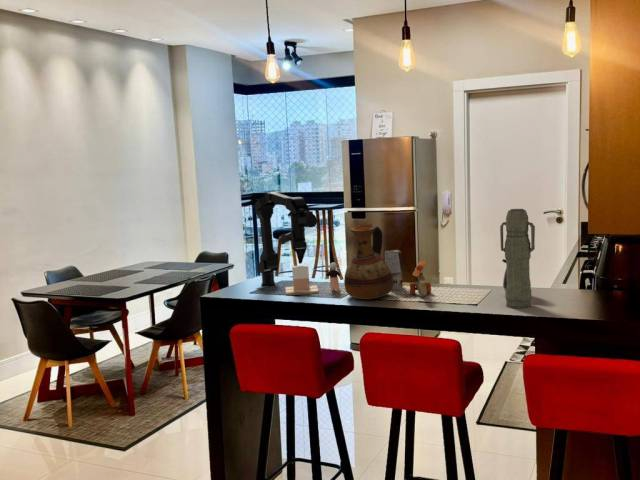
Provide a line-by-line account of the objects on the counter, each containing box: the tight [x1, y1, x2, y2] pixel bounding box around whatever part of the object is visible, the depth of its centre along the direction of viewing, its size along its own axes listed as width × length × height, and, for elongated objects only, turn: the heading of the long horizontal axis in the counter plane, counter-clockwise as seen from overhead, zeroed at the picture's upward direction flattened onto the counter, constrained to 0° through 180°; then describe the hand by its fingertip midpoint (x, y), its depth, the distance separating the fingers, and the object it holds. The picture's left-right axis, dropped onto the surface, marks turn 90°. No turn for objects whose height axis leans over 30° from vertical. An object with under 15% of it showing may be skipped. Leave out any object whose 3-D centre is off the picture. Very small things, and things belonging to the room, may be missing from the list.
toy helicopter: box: [409, 260, 432, 298], centre depth 247 cm, size 8×21×14 cm, turn 177°
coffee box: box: [384, 249, 404, 291], centre depth 268 cm, size 9×6×16 cm
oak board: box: [285, 284, 319, 296], centre depth 274 cm, size 14×14×1 cm
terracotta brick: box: [292, 277, 310, 290], centre depth 273 cm, size 4×7×5 cm, turn 94°
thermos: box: [499, 208, 536, 309], centre depth 223 cm, size 9×12×35 cm
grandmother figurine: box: [324, 261, 343, 293], centre depth 269 cm, size 8×4×13 cm, turn 84°
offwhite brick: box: [291, 264, 310, 280], centre depth 273 cm, size 4×7×5 cm, turn 94°
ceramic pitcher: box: [343, 223, 393, 300], centre depth 253 cm, size 20×20×30 cm
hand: (299, 261), depth 272 cm, fingers open, 9 cm apart
